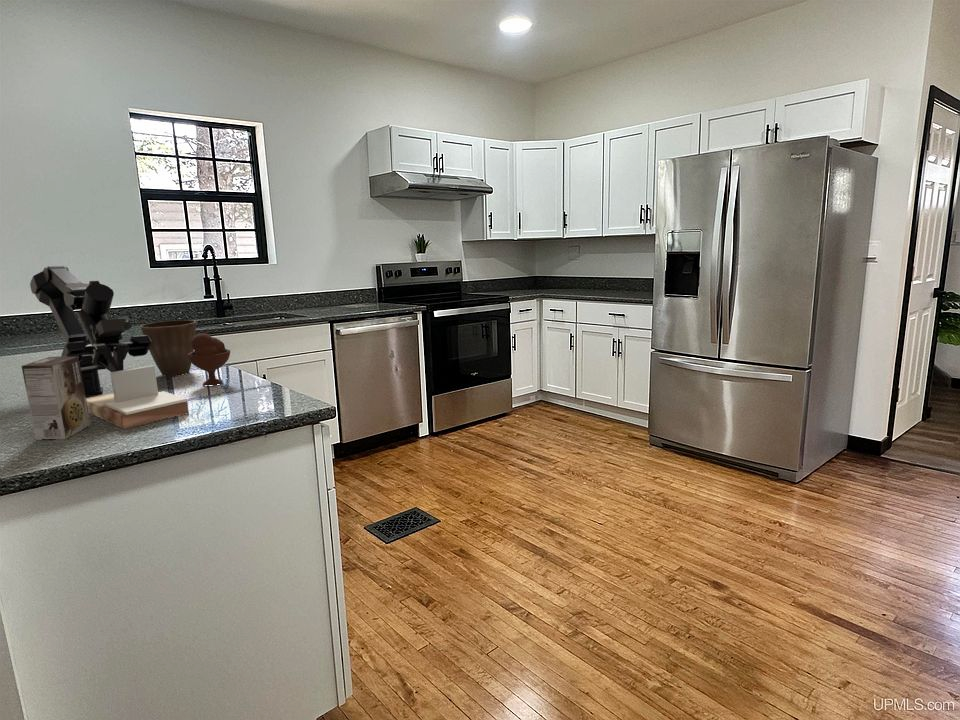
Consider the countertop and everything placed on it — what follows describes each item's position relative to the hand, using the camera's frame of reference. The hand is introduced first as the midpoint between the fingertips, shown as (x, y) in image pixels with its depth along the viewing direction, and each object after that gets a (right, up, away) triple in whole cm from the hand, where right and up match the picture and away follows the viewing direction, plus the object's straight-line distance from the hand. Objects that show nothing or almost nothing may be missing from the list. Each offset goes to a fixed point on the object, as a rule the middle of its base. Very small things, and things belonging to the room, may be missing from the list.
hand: (121, 376), depth 138 cm
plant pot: (-7, -1, +38) cm, 39 cm away
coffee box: (-2, -12, -16) cm, 20 cm away
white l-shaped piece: (+10, -6, -7) cm, 14 cm away
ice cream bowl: (+11, -3, +24) cm, 27 cm away
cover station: (+5, -9, -2) cm, 10 cm away
